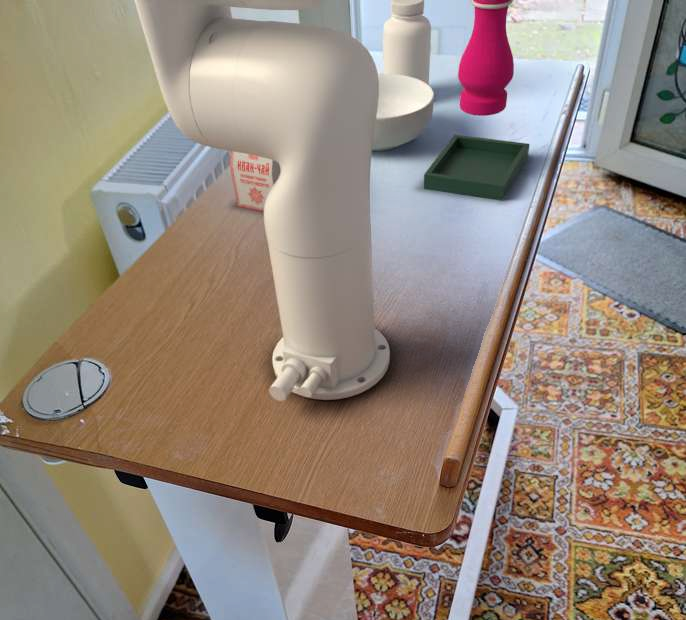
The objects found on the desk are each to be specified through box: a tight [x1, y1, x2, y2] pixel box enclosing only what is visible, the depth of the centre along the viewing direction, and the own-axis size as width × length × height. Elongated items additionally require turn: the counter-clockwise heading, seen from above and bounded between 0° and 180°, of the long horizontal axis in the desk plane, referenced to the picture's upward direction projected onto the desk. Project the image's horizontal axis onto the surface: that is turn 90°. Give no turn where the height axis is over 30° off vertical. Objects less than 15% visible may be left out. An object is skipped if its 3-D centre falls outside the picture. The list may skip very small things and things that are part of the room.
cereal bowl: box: [372, 73, 435, 152], centre depth 105 cm, size 17×17×7 cm
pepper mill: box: [457, 0, 515, 117], centre depth 84 cm, size 7×7×20 cm
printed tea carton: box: [229, 151, 281, 212], centre depth 93 cm, size 4×7×10 cm, turn 63°
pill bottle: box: [382, 0, 432, 86], centre depth 113 cm, size 8×8×15 cm
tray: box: [423, 134, 531, 201], centre depth 98 cm, size 14×12×2 cm
